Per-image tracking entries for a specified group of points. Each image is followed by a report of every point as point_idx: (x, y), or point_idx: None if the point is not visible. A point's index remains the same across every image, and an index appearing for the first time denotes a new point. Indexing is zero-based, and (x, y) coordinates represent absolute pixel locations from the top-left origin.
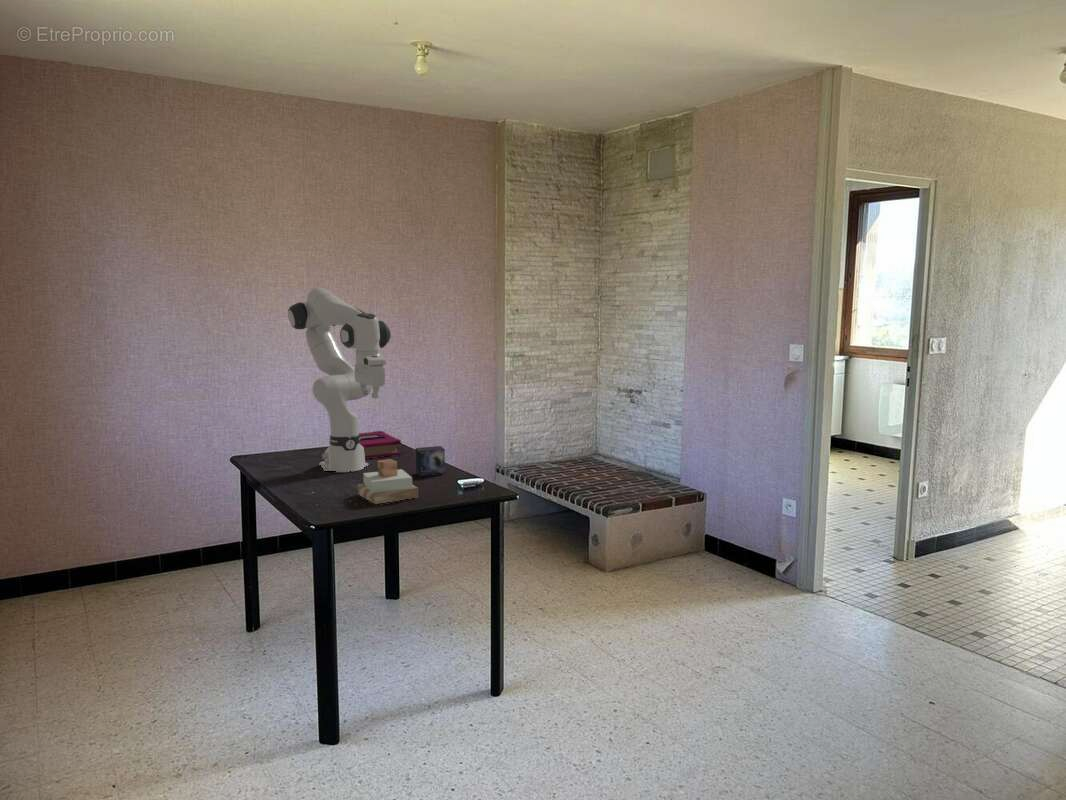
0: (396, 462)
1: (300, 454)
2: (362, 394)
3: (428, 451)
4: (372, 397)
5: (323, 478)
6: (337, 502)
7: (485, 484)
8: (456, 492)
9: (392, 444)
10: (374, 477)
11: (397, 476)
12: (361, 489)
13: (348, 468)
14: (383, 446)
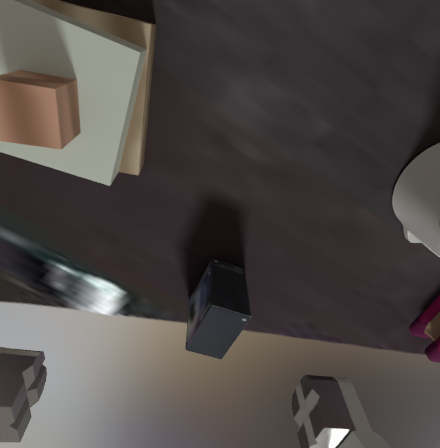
0: (1, 137)
1: None
2: (337, 381)
3: (201, 320)
4: (21, 351)
5: (428, 72)
6: None
7: (50, 302)
8: (16, 232)
9: (436, 339)
10: (41, 39)
11: None
12: (115, 15)
13: (413, 172)
14: None
